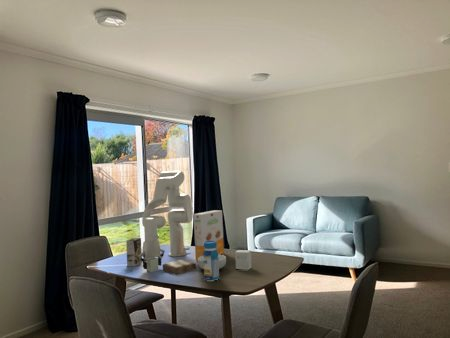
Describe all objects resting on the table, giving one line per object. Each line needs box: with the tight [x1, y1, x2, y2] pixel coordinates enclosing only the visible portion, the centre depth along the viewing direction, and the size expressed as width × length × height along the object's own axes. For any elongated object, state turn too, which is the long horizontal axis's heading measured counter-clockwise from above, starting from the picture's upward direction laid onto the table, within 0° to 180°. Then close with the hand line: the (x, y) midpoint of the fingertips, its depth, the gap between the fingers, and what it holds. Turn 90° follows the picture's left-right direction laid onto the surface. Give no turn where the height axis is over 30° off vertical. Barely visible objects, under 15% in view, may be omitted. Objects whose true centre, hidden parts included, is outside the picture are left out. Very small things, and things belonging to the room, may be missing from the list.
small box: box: [234, 249, 252, 270], centre depth 212 cm, size 8×6×10 cm
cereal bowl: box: [197, 254, 227, 270], centre depth 215 cm, size 17×17×7 cm
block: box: [146, 257, 159, 273], centre depth 219 cm, size 5×5×7 cm
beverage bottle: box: [203, 241, 220, 282], centre depth 195 cm, size 8×8×20 cm
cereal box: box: [193, 209, 225, 261], centre depth 246 cm, size 22×6×30 cm, turn 143°
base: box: [162, 259, 197, 275], centre depth 217 cm, size 14×14×4 cm
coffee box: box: [125, 237, 143, 267], centre depth 235 cm, size 9×6×16 cm
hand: (152, 267), depth 219 cm, fingers open, 9 cm apart
